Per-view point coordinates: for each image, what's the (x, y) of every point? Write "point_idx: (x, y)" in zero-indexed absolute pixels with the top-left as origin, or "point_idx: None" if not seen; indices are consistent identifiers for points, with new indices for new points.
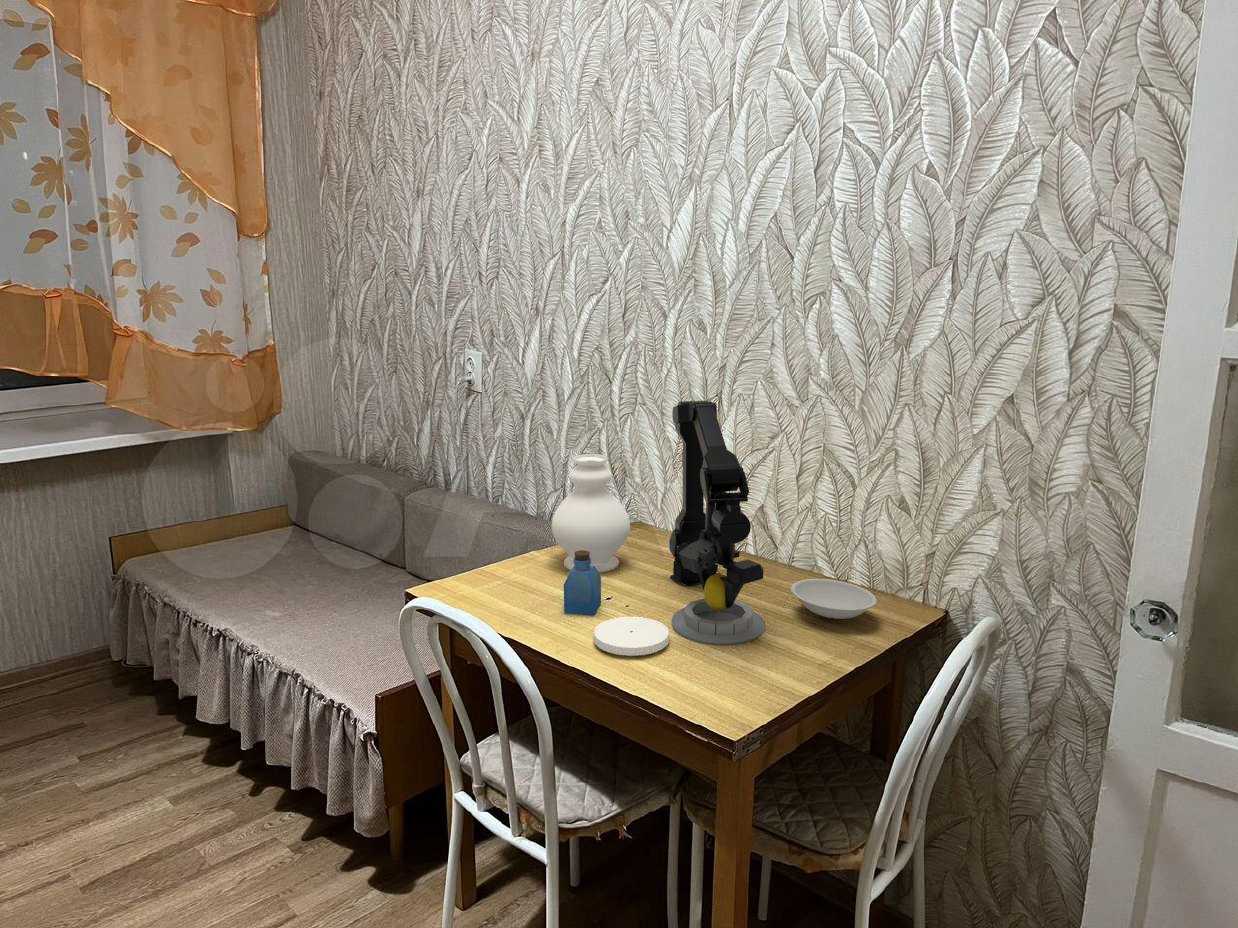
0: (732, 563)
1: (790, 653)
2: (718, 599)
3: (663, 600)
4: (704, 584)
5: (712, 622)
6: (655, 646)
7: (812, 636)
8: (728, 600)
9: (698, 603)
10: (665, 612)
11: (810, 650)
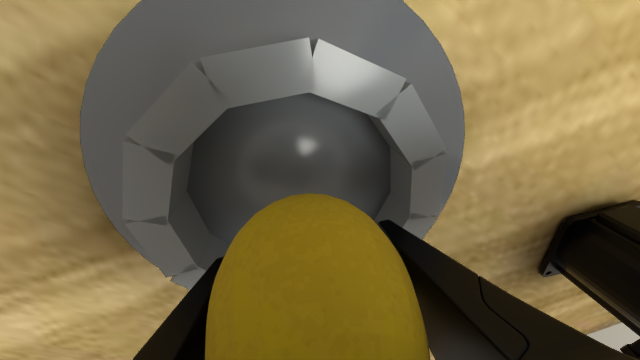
0: None
1: (4, 285)
2: (223, 264)
3: (573, 107)
4: (429, 278)
5: (163, 134)
6: None
7: (141, 347)
8: (178, 305)
9: (411, 177)
10: (501, 53)
11: (36, 327)
